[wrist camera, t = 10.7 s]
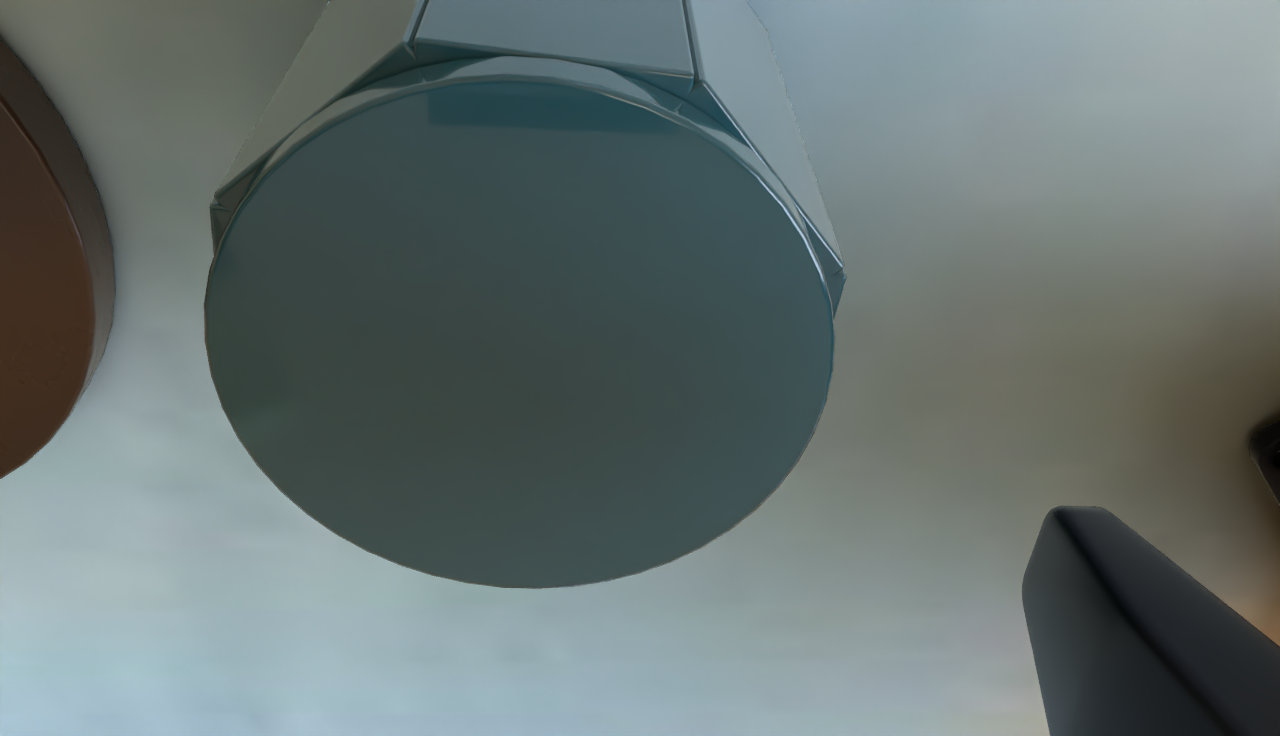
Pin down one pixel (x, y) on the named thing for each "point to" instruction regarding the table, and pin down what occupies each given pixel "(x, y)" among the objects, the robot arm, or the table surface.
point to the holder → (46, 269)
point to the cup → (525, 283)
